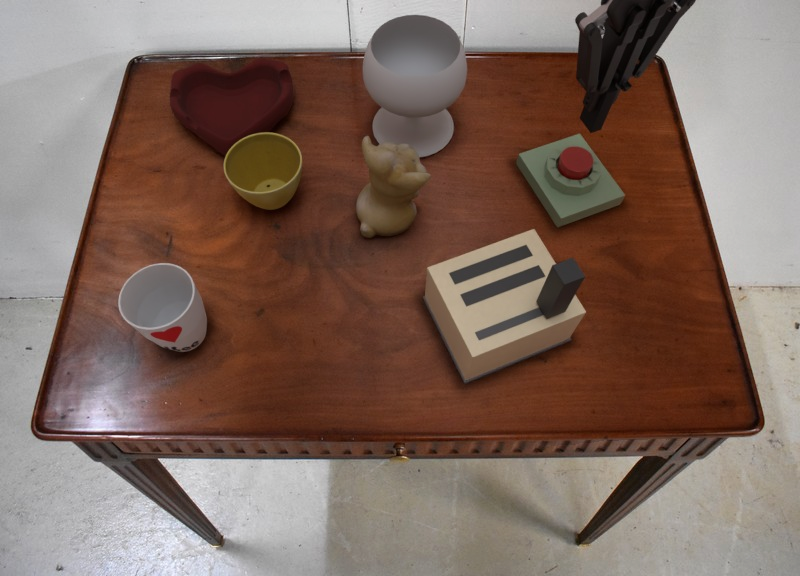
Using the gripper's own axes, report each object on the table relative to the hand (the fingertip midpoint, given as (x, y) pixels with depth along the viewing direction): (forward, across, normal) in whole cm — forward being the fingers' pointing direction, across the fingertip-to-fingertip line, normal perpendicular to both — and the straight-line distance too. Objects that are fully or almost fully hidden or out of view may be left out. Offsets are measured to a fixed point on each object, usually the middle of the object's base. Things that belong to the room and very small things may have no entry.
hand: (590, 123), depth 74 cm
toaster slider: (+3, +16, +19) cm, 25 cm away
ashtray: (+12, +40, -29) cm, 51 cm away
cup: (+12, +55, +2) cm, 56 cm away
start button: (+8, 0, 0) cm, 8 cm away
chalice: (+12, +16, -18) cm, 27 cm away
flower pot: (+12, +39, -14) cm, 43 cm away
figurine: (+12, +25, -4) cm, 28 cm away
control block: (+12, 0, 0) cm, 12 cm away
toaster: (+12, +19, +15) cm, 27 cm away
